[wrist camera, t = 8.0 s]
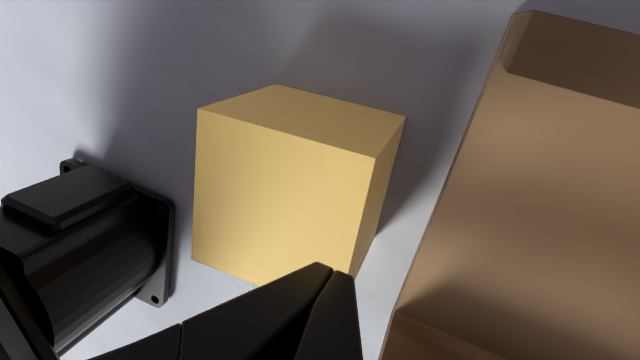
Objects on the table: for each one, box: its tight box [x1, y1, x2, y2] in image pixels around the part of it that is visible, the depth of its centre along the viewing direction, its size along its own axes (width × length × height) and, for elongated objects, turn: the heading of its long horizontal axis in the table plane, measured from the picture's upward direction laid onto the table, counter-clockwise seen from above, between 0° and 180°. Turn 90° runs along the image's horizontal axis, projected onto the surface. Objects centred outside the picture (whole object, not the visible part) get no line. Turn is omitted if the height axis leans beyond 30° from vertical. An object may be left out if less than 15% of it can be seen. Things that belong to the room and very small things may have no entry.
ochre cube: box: [191, 84, 406, 286], centre depth 13 cm, size 5×5×5 cm
